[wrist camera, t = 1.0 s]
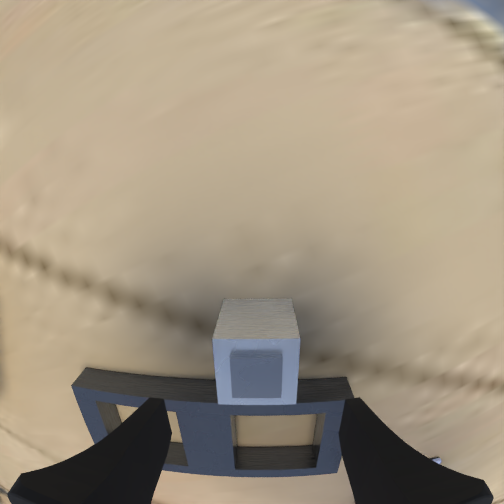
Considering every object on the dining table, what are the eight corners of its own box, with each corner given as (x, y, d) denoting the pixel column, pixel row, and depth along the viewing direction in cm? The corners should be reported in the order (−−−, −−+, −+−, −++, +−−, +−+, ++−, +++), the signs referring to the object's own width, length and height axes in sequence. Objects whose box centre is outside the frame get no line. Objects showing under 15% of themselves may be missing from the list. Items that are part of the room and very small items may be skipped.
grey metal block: (289, 355, 20) (296, 409, 15) (227, 355, 20) (217, 409, 15) (291, 298, 19) (301, 342, 14) (224, 298, 19) (211, 342, 14)
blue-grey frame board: (332, 451, 22) (337, 472, 20) (111, 439, 23) (101, 458, 20) (346, 377, 20) (354, 399, 18) (85, 367, 21) (71, 385, 19)
